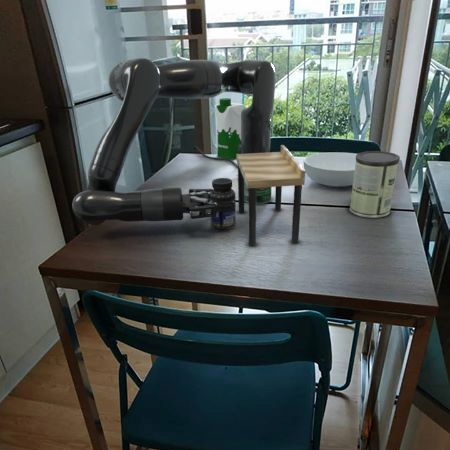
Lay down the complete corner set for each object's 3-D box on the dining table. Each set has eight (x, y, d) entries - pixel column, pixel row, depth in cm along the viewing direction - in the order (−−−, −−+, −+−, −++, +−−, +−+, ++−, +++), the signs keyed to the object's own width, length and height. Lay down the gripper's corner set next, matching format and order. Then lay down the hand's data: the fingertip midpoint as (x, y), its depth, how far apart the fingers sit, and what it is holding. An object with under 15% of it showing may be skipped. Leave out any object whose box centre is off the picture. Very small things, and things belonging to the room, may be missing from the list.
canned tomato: (256, 192, 130) (256, 154, 124) (277, 199, 125) (278, 159, 119) (237, 200, 125) (237, 160, 119) (258, 206, 120) (258, 166, 114)
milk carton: (213, 157, 165) (211, 99, 154) (229, 152, 170) (228, 95, 160) (231, 160, 160) (230, 101, 149) (247, 155, 165) (247, 97, 155)
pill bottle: (236, 220, 110) (236, 176, 104) (235, 230, 105) (234, 185, 99) (212, 220, 110) (210, 176, 104) (209, 230, 105) (207, 184, 99)
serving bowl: (376, 176, 139) (379, 154, 136) (365, 197, 124) (368, 173, 120) (311, 170, 147) (313, 149, 143) (293, 189, 131) (295, 166, 127)
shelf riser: (237, 211, 118) (236, 147, 109) (281, 208, 118) (283, 145, 109) (247, 246, 99) (247, 173, 90) (300, 243, 100) (305, 170, 91)
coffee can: (353, 201, 121) (360, 149, 113) (392, 206, 117) (402, 152, 110) (345, 215, 113) (352, 159, 106) (386, 220, 109) (397, 163, 102)
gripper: (159, 199, 95) (236, 196, 96) (161, 179, 107) (230, 176, 108) (162, 231, 99) (236, 227, 100) (164, 208, 111) (230, 205, 113)
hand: (232, 201), depth 104 cm, fingers closed on pill bottle, 6 cm apart
